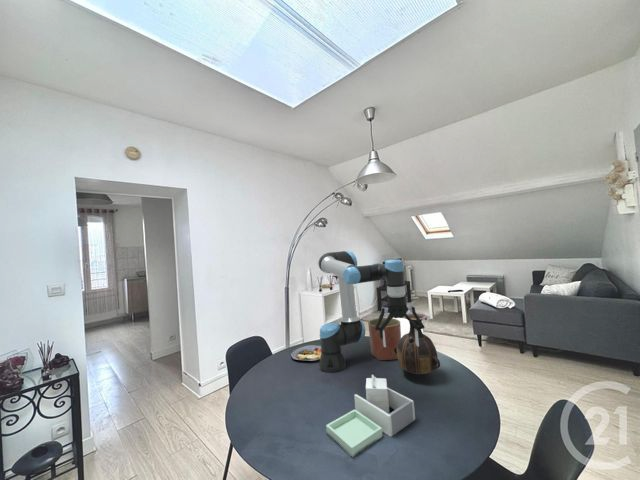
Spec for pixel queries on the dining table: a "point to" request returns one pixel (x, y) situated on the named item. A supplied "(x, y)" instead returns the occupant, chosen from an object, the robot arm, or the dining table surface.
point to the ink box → (377, 392)
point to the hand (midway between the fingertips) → (400, 345)
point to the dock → (386, 421)
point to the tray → (354, 432)
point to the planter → (391, 339)
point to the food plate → (307, 353)
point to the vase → (417, 351)
